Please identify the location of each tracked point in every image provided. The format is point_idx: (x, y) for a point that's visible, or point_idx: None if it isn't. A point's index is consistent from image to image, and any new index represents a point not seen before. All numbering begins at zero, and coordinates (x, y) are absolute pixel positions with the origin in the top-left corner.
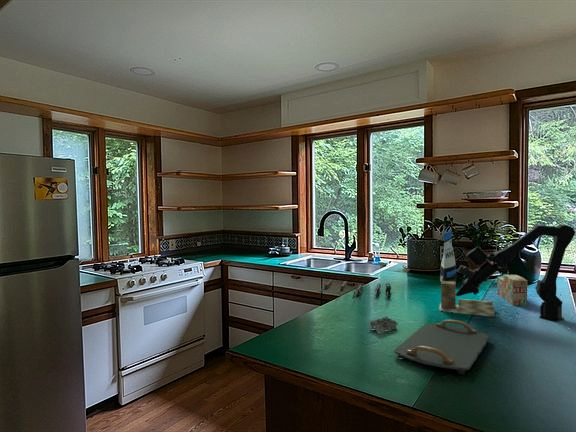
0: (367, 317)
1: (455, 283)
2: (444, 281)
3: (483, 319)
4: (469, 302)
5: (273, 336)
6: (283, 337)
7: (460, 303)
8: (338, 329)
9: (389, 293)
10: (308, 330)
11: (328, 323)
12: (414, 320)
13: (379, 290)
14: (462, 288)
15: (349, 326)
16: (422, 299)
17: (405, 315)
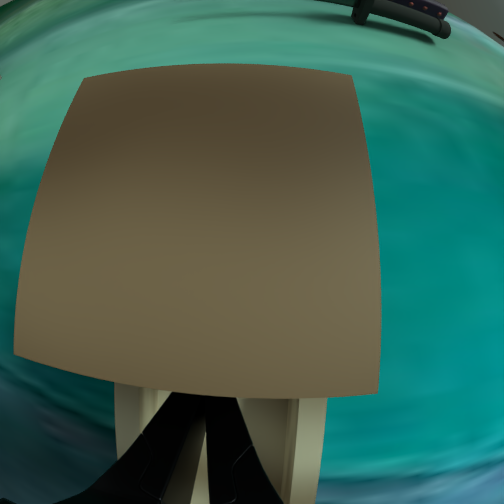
0: (67, 24)
1: (111, 380)
2: (307, 112)
3: (67, 470)
4: (289, 465)
5: (11, 5)
6: (3, 13)
7: (137, 386)
8: (7, 33)
9: (361, 9)
10: (18, 11)
11: (43, 6)
12: (13, 131)
13: (394, 2)
14: (120, 475)
15: (15, 35)
16: (413, 135)
17: (72, 87)
